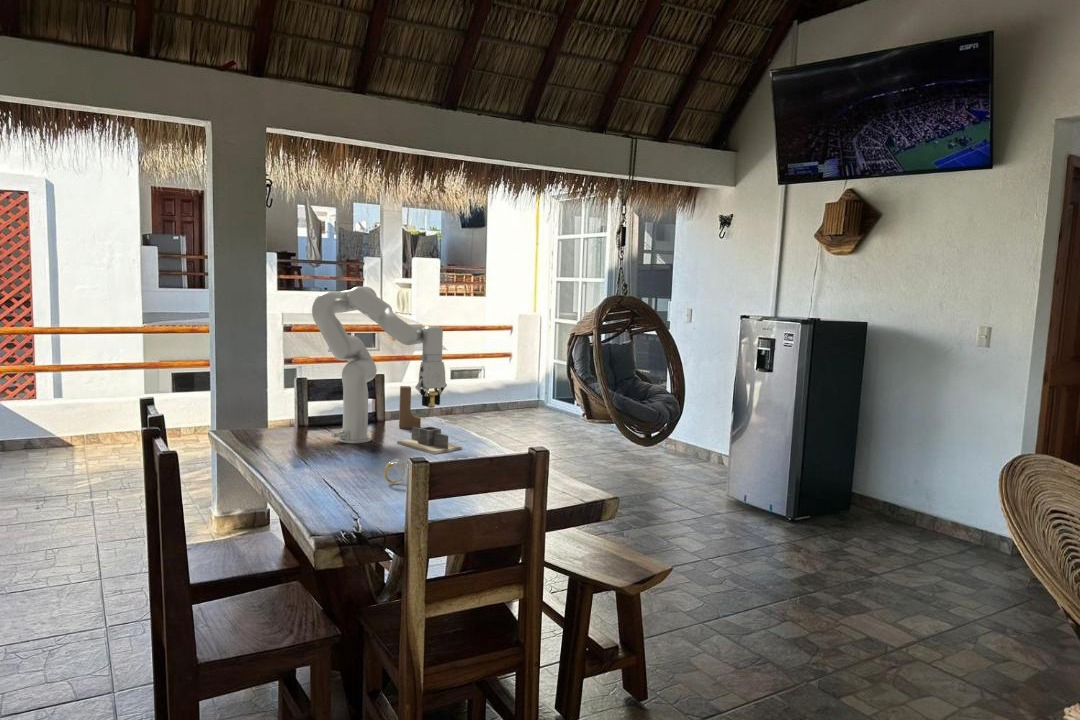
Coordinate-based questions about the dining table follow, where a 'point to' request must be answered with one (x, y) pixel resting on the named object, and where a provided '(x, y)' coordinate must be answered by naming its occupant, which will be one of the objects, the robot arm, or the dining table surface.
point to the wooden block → (407, 410)
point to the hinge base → (429, 441)
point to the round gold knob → (432, 398)
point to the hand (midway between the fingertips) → (430, 404)
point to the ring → (391, 466)
